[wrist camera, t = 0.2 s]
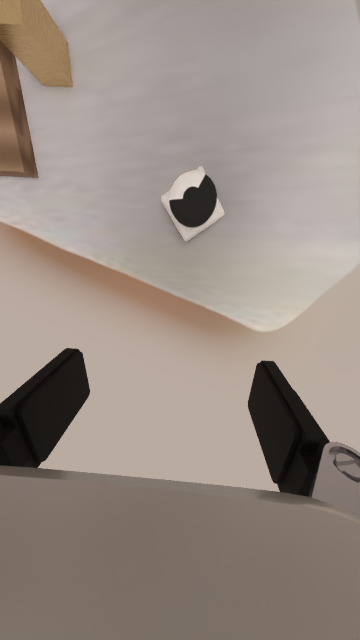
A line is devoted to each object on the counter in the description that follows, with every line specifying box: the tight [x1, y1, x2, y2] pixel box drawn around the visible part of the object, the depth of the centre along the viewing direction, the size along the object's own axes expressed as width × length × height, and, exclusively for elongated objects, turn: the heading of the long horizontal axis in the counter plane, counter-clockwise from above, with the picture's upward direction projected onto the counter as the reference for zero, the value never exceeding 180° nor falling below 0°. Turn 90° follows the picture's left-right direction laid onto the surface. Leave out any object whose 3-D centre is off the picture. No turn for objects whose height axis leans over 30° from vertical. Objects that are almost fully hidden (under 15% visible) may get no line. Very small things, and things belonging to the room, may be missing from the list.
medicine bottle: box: [161, 166, 225, 241], centre depth 29 cm, size 7×7×12 cm
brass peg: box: [0, 0, 73, 87], centre depth 24 cm, size 4×4×9 cm
